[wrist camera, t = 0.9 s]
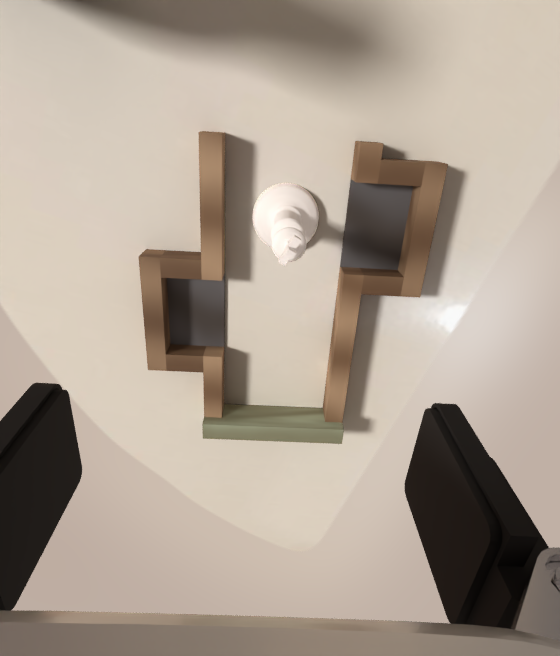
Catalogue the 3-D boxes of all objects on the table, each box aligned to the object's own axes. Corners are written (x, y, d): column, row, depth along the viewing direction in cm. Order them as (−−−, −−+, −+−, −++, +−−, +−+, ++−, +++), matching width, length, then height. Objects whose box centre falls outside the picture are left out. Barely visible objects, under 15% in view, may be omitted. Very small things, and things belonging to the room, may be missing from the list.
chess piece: (331, 206, 32) (354, 239, 23) (295, 261, 34) (303, 312, 25) (274, 169, 31) (274, 189, 22) (240, 228, 33) (227, 269, 24)
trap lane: (136, 126, 30) (123, 127, 27) (440, 146, 30) (457, 148, 28) (158, 414, 40) (150, 436, 37) (385, 424, 41) (392, 445, 38)
